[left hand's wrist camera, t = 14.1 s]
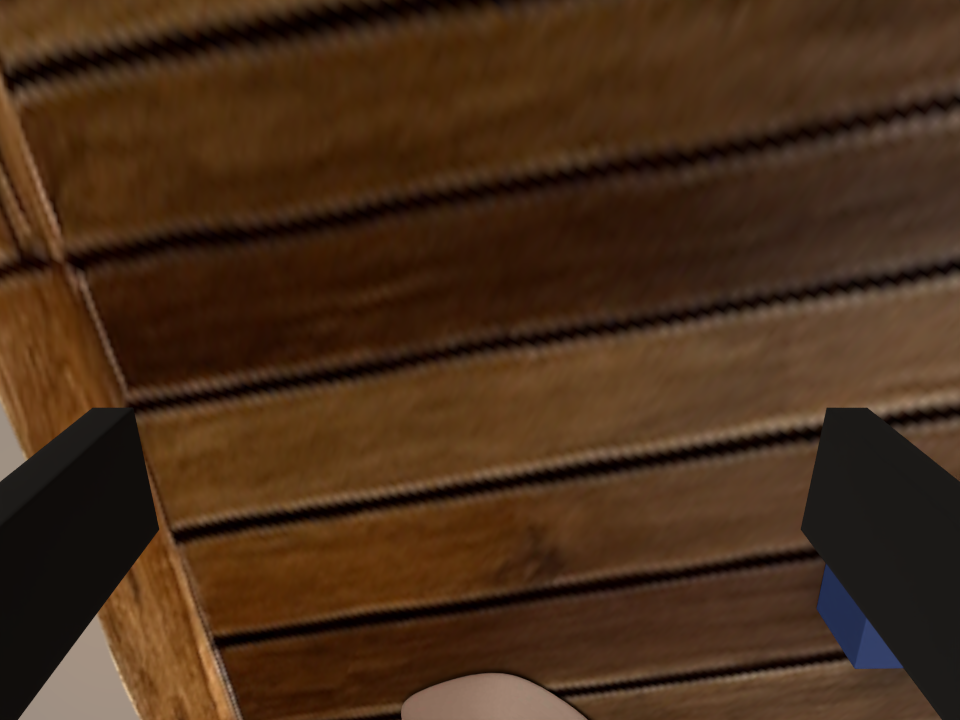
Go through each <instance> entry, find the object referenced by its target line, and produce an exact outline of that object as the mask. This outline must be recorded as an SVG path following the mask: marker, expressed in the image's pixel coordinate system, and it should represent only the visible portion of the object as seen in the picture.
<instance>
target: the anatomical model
mask: <svg viewBox="0 0 960 720" xmlns="http://www.w3.org/2000/svg"><path fill="white" fill-rule="evenodd" d="M401 717H402V720H588V719H587V718H585V717H584V716H583V715H582V714H580V713H579V712H578V711H577V710H575V709H574V708H573V707H571V706H570V705H569V704H567V703H566V702H564V701H563V700H561V699H560V698H558V697H557V696H555V695H554V694H552V693H550V692H549V691H547V690H545V689H544V688H542V687H540V686H538V685H536V684H534V683H532V682H530V681H528V680H525V679H523V678H520V677H517V676H513V675H509V674H503V673H482V674H475V675H469V676H465V677H460V678H456V679H453V680H449V681H446V682H443V683H440V684H437V685H434V686H432V687H429V688H427V689H424V690H422V691H420V692H418V693H416V694H414V695H412V696H411V697H410V698H408V699H407V700H406V701H405V702H404V704H403V706H402V710H401Z"/></svg>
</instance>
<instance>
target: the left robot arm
mask: <svg viewBox="0 0 960 720" xmlns="http://www.w3.org/2000/svg"><path fill="white" fill-rule="evenodd" d="M158 530H159V526H158V521H157V517H156V512H155V507H154V503H153V498H152V493H151V489H150V484H149V479H148V475H147V470H146V465H145V461H144V456H143V451H142V447H141V442H140V437H139V432H138V428H137V423H136V418H135V414H134V409H133V408H92V409H91V410H89V411H88V412H87V413H86V414H84V415H83V416H82V417H81V418H79V419H78V420H77V421H76V422H74V423H73V424H72V425H71V426H69V427H68V428H67V429H66V430H64V431H63V432H62V433H61V434H59V435H58V436H57V437H56V438H54V439H53V440H52V441H51V442H49V443H48V444H47V445H46V446H44V447H43V448H42V449H41V450H39V451H38V452H37V453H36V454H34V455H33V456H32V457H31V458H29V459H28V460H27V461H26V462H24V463H23V464H22V465H21V466H19V467H18V468H17V469H16V470H14V471H13V472H12V473H11V474H9V475H8V476H7V477H6V478H4V479H3V480H2V481H1V482H0V720H18V719H19V717H20V716H21V715H22V713H23V712H24V711H25V709H26V708H27V707H28V705H29V704H30V703H31V701H32V700H33V699H34V697H35V696H36V695H37V693H38V692H39V691H40V689H41V688H42V687H43V685H44V684H45V682H46V681H47V680H48V679H49V677H50V676H51V674H52V673H53V672H54V670H55V669H56V668H57V666H58V665H59V664H60V662H61V661H62V660H63V658H64V657H65V656H66V654H67V653H68V652H69V650H70V649H71V647H72V646H73V645H74V643H75V642H76V641H77V639H78V638H79V637H80V635H81V634H82V633H83V631H84V630H85V629H86V627H87V626H88V625H89V623H90V622H91V621H92V619H93V618H94V617H95V615H96V614H97V613H98V611H99V610H100V609H101V607H102V606H103V604H104V603H105V602H106V600H107V599H108V598H109V596H110V595H111V594H112V592H113V591H114V590H115V588H116V587H117V586H118V584H119V583H120V582H121V580H122V579H123V578H124V576H125V575H126V574H127V572H128V571H129V570H130V568H131V567H132V565H133V564H134V563H135V561H136V560H137V559H138V557H139V556H140V555H141V553H142V552H143V551H144V549H145V548H146V547H147V545H148V544H149V543H150V541H151V540H152V539H153V537H154V536H155V535H156V533H157V532H158ZM801 530H802V532H803V533H804V535H805V536H806V537H807V539H808V540H809V541H810V543H811V544H812V545H813V547H814V548H815V549H816V551H817V552H818V553H819V555H820V556H821V557H822V559H823V560H824V561H825V563H826V564H827V565H828V567H829V568H830V570H831V571H832V572H833V574H834V575H835V576H836V578H837V579H838V580H839V582H840V583H841V584H842V586H843V587H844V588H845V590H846V591H847V592H848V594H849V595H850V596H851V598H852V599H853V600H854V602H855V603H856V604H857V606H858V607H859V609H860V610H861V611H862V613H863V614H864V615H865V617H866V618H867V619H868V621H869V622H870V623H871V625H872V626H873V627H874V629H875V630H876V631H877V633H878V634H879V635H880V637H881V638H882V639H883V641H884V642H885V644H886V645H887V646H888V648H889V649H890V650H891V652H892V653H893V654H894V656H895V657H896V658H897V660H898V661H899V662H900V664H901V665H902V666H903V668H904V669H905V670H906V672H907V673H908V674H909V676H910V677H911V679H912V680H913V681H914V683H915V684H916V685H917V687H918V688H919V689H920V691H921V692H922V693H923V695H924V696H925V697H926V699H927V700H928V701H929V703H930V704H931V705H932V707H933V708H934V709H935V711H936V712H937V713H938V715H939V716H940V718H941V719H942V720H960V482H959V481H958V480H957V479H956V478H954V477H953V476H952V475H951V474H949V473H948V472H947V471H946V470H944V469H943V468H942V467H941V466H939V465H938V464H937V463H936V462H934V461H933V460H932V459H931V458H929V457H928V456H927V455H926V454H924V453H923V452H922V451H921V450H919V449H918V448H917V447H916V446H914V445H913V444H912V443H911V442H909V441H908V440H907V439H906V438H904V437H903V436H902V435H901V434H899V433H898V432H897V431H896V430H894V429H893V428H892V427H891V426H889V425H888V424H887V423H886V422H884V421H883V420H882V419H881V418H879V417H878V416H877V415H876V414H874V413H873V412H872V411H871V410H869V409H868V408H827V409H826V414H825V418H824V423H823V428H822V432H821V437H820V442H819V446H818V451H817V456H816V461H815V465H814V470H813V475H812V479H811V484H810V489H809V493H808V498H807V503H806V507H805V512H804V517H803V521H802V526H801Z"/></svg>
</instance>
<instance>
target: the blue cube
mask: <svg viewBox="0 0 960 720" xmlns="http://www.w3.org/2000/svg"><path fill="white" fill-rule="evenodd" d="M817 610H818V612H819V613H820V615H821V617H822V618H823V620H824V621H825V623H826V624H827V626H828V628H829V629H830V631H831V632H832V634H833V635H834V637H835V639H836V640H837V642H838V643H839V645H840V646H841V648H842V650H843V651H844V653H845V654H846V656H847V657H848V659H849V661H850V662H851V664H852V665H853V667H854V668H855V669H876V668H903V666H902V665H901V664H900V662H899V661H898V660H897V658H896V657H895V656H894V654H893V653H892V652H891V650H890V649H889V648H888V646H887V645H886V644H885V642H884V641H883V639H882V638H881V637H880V635H879V634H878V633H877V631H876V630H875V629H874V627H873V626H872V625H871V623H870V622H869V621H868V619H867V618H866V617H865V615H864V614H863V613H862V611H861V610H860V609H859V607H858V606H857V604H856V603H855V602H854V600H853V599H852V598H851V596H850V595H849V594H848V592H847V591H846V590H845V588H844V587H843V586H842V584H841V583H840V582H839V580H838V579H837V578H836V576H835V575H834V574H833V572H832V571H831V570H830V568H829V567H828V565H827V564H826V566H825V571H824V576H823V580H822V585H821V590H820V595H819V600H818V605H817Z"/></svg>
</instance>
